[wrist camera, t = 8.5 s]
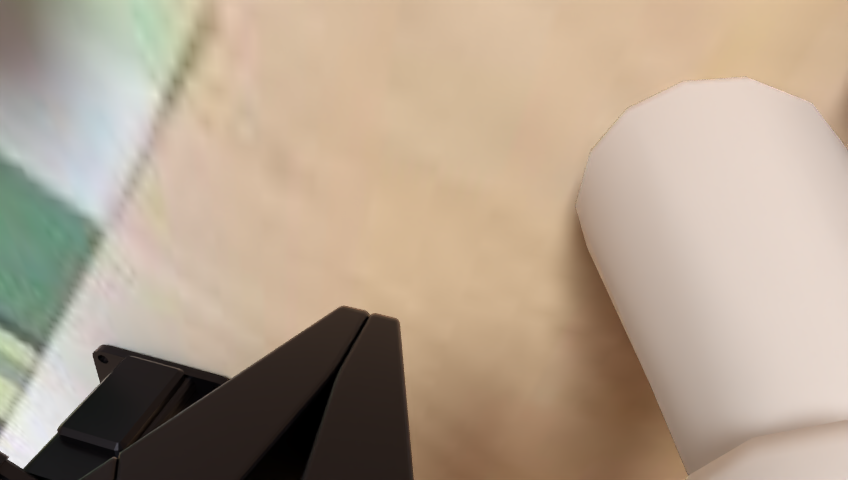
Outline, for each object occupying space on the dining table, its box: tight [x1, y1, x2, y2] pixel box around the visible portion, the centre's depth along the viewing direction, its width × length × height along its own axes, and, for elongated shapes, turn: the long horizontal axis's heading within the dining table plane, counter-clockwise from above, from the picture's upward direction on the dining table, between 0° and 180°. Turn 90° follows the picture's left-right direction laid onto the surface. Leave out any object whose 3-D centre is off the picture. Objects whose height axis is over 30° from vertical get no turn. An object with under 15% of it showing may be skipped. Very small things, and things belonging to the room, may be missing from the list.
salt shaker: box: [575, 77, 848, 480], centre depth 10 cm, size 6×6×13 cm
